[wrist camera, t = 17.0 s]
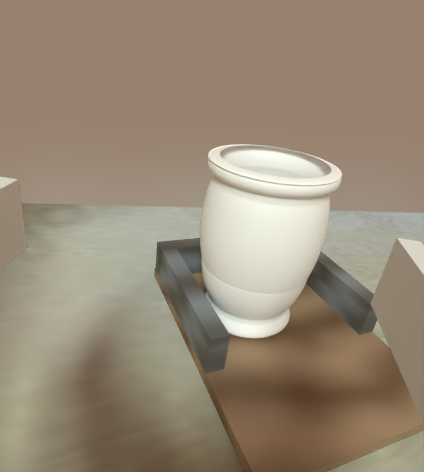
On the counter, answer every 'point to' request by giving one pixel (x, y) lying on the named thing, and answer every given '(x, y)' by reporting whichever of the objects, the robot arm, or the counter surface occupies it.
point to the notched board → (294, 370)
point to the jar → (262, 233)
